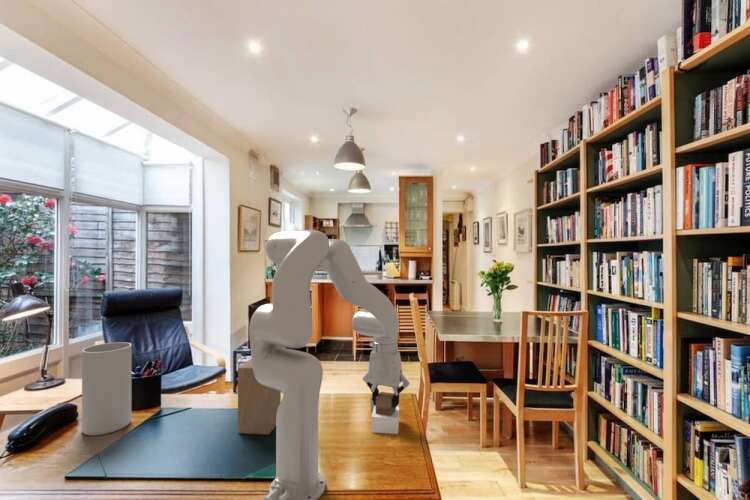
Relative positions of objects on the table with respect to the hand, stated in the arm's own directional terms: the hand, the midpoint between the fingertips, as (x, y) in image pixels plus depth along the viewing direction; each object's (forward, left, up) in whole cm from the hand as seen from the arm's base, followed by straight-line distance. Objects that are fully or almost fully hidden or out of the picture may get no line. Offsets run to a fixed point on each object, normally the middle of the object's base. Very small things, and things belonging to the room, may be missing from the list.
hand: (385, 404), depth 114 cm
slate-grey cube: (+11, +6, -7) cm, 14 cm away
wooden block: (-14, +37, -7) cm, 40 cm away
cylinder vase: (-31, +82, -7) cm, 88 cm away
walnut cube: (0, 0, -2) cm, 2 cm away
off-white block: (0, 0, -7) cm, 7 cm away
